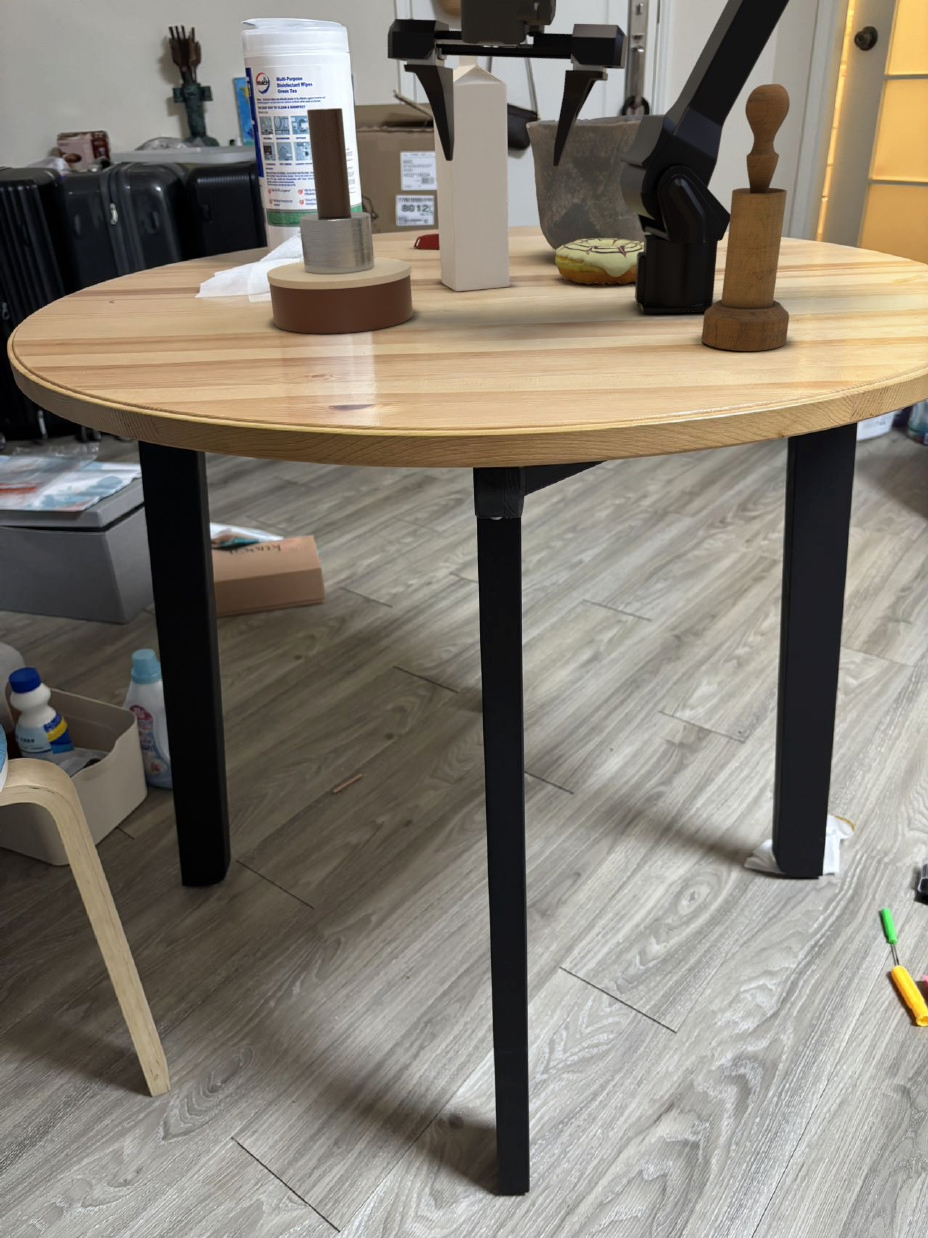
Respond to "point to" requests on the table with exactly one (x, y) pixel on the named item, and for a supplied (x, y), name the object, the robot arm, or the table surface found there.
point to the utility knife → (428, 242)
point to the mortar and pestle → (754, 241)
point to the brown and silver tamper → (333, 204)
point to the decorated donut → (599, 260)
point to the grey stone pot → (584, 180)
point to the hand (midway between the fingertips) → (502, 163)
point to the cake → (341, 298)
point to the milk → (474, 183)
